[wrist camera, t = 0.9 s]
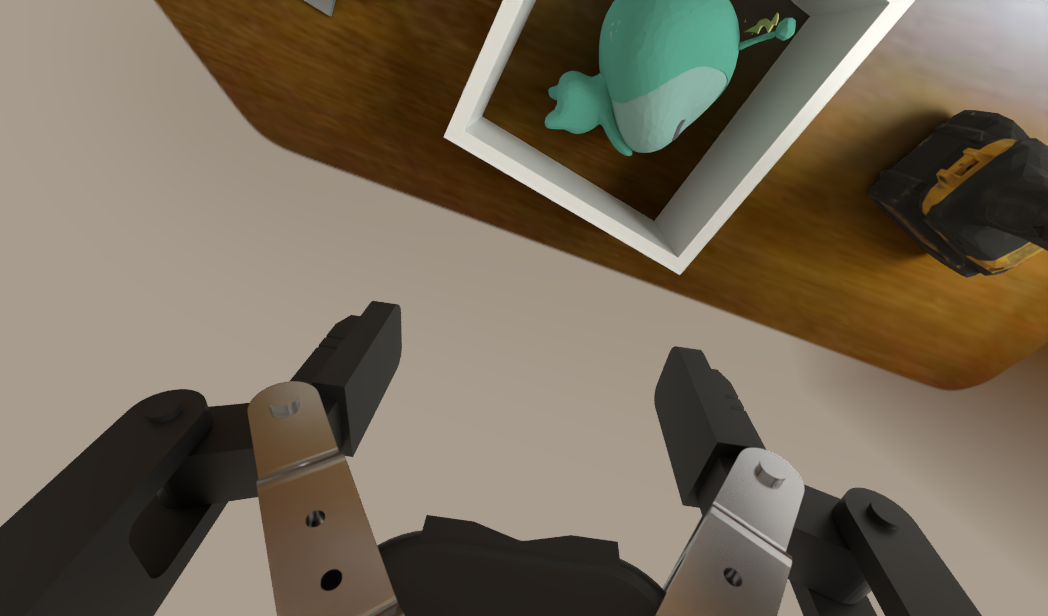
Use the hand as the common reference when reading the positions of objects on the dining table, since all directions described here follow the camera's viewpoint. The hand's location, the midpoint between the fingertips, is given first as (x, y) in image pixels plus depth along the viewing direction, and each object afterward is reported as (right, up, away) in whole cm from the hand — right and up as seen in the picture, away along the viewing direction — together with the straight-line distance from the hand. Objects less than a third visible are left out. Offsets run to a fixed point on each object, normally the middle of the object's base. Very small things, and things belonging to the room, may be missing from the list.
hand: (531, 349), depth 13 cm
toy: (+8, +19, +19) cm, 28 cm away
